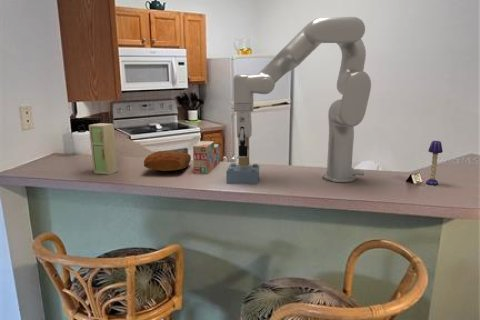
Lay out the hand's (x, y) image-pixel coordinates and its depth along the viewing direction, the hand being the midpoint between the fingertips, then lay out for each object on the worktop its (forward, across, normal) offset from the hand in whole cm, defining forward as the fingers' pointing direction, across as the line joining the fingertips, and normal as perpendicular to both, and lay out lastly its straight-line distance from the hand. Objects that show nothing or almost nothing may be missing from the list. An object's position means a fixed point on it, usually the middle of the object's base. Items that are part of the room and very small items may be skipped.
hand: (243, 154), depth 137 cm
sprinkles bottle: (+5, 0, 0) cm, 5 cm away
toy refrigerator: (+11, +5, +61) cm, 62 cm away
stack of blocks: (+11, +18, +19) cm, 28 cm away
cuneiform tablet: (+11, +12, +35) cm, 39 cm away
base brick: (+11, 0, 0) cm, 11 cm away
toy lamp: (+11, +3, -72) cm, 73 cm away
